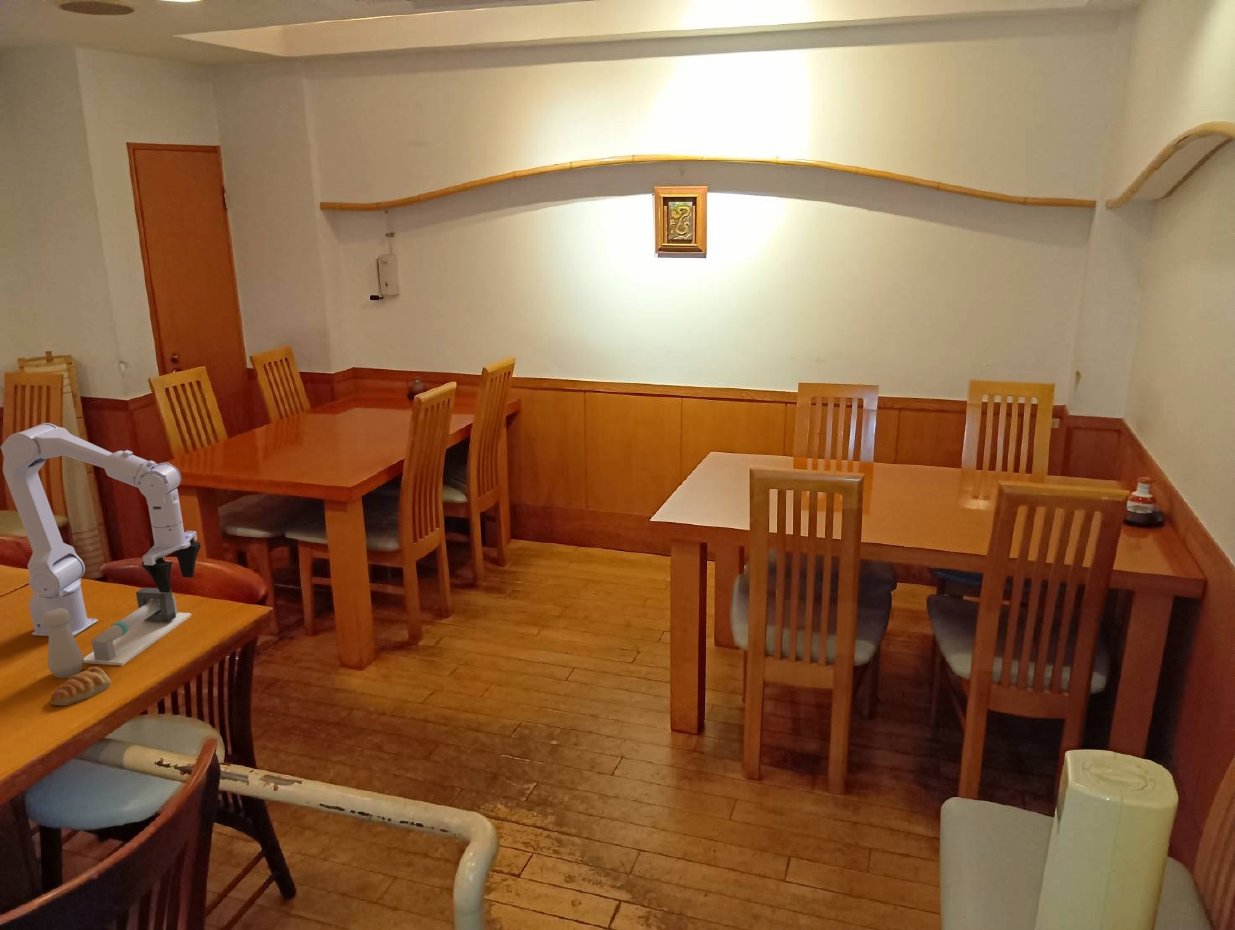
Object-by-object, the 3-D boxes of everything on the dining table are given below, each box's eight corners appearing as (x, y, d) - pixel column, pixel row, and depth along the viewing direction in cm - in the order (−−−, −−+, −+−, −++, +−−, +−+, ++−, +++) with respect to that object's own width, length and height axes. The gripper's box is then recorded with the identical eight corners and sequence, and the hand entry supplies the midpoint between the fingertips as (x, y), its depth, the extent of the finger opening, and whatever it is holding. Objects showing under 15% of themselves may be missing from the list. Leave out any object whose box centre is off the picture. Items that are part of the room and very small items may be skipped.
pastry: (68, 712, 154) (63, 693, 153) (42, 704, 157) (38, 686, 156) (115, 686, 163) (111, 668, 162) (90, 679, 165) (86, 661, 164)
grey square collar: (169, 622, 185) (164, 593, 183) (140, 620, 186) (135, 592, 184) (176, 617, 187) (171, 589, 185) (148, 615, 188) (143, 587, 186)
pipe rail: (122, 665, 170) (117, 638, 168) (81, 662, 171) (75, 635, 169) (191, 615, 190) (187, 590, 189) (154, 613, 192) (149, 588, 190)
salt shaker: (68, 682, 164) (55, 619, 160) (43, 679, 165) (29, 617, 161) (92, 666, 169) (80, 606, 166) (67, 664, 170) (54, 603, 167)
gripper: (161, 536, 171) (171, 599, 175) (206, 512, 185) (214, 571, 188) (129, 534, 172) (140, 597, 176) (176, 510, 186) (185, 569, 190)
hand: (176, 584), depth 182 cm, fingers open, 7 cm apart
